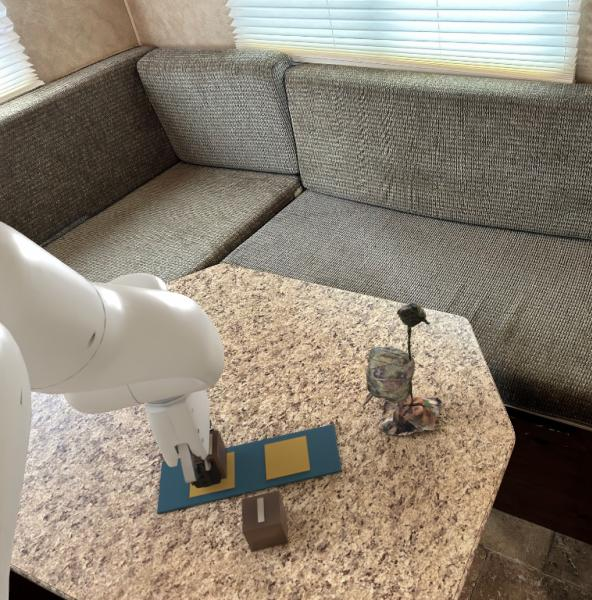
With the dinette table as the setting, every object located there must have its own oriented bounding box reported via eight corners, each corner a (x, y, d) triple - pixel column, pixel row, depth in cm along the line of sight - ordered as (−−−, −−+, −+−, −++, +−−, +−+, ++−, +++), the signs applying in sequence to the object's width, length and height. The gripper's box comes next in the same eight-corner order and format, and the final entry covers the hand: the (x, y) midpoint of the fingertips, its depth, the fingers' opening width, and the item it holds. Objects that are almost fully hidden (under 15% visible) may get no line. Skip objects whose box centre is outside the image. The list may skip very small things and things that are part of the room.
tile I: (288, 543, 73) (280, 522, 70) (251, 552, 73) (241, 531, 70) (286, 510, 77) (278, 489, 74) (250, 518, 76) (241, 497, 73)
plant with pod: (376, 387, 92) (360, 284, 79) (449, 402, 88) (445, 296, 75) (356, 429, 86) (336, 325, 73) (433, 446, 83) (426, 341, 70)
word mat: (342, 471, 81) (341, 469, 80) (157, 514, 78) (156, 512, 77) (334, 425, 87) (333, 423, 86) (162, 463, 84) (161, 461, 83)
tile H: (227, 478, 79) (217, 456, 76) (192, 486, 79) (180, 464, 75) (227, 450, 82) (217, 428, 79) (193, 457, 82) (182, 436, 79)
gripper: (139, 330, 75) (184, 424, 86) (121, 439, 62) (176, 531, 74) (201, 318, 75) (237, 412, 87) (195, 423, 63) (238, 517, 74)
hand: (209, 466), depth 80 cm, fingers closed on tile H, 4 cm apart
